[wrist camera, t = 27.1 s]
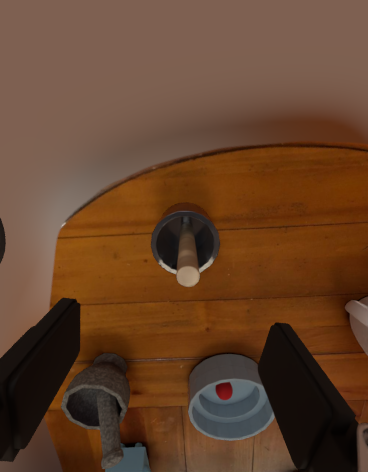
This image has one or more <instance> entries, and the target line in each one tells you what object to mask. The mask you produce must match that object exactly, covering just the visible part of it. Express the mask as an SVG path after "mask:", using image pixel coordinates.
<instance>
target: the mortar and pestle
mask: <svg viewBox="0 0 368 472" xmlns="http://www.w3.org/2000/svg"><path fill="white" fill-rule="evenodd" d="M126 370H127V365H126V363H125V360H124V359H123V358H121V357H120V356H118V355H116V354H110V353H103V354H102V355H100V356H98V357H96V358H95V360H94V363H93V365H91V366H89V367H88V368H86V369H84V370H83V371H81V372H80V373H79V374H77V375H76V376H75V378H74V379H73V380H72V382H71V383H70V384H69V386H68V388H67V390H66V392H65V394H64V398H63V401H62V405H61V408H62V409H63V411H64V413H65V414H66V416H67V417H68V419H69V420H70V421H72V422H74V423H76V424H78V425H80V426H82V427H84V428H86V429H100V432H101V441H102V451H103V459H102V462H101V464H102V468H103V469H109V468H111V467H113V466H115V465H117V464H118V463H119V462H120V461H121V460H122V458H123V456H124V454H123V450H122V449H121V443H120V427H119V423H121V422H122V420H123V418H124V415H125V413H126V411H127V407H128V403H129V398H130V386H129V382H128V380H127V378H126V376H125V373H126Z"/></svg>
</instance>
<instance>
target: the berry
mask: <svg viewBox="0 0 368 472" xmlns="http://www.w3.org/2000/svg"><path fill="white" fill-rule="evenodd" d="M215 390H216V394H217V396H218V397H219V398H220V399H222V400H228V399H230V398H231V396H232V393H233V388H232V385H231V383H230V382H225V383H220V384H217V385H216V387H215Z"/></svg>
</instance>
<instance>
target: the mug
mask: <svg viewBox="0 0 368 472" xmlns="http://www.w3.org/2000/svg"><path fill="white" fill-rule="evenodd" d="M345 309H346V311H347V312H349V313H350V324H351V328H352V331H353V333H354V335H355V337H356V339H357V341H358V342H359V344H360V346H361V347H362V349H363V350H364V351H365V353H366V354H367V356H368V297H365V298H363V299H361V300H360V301H355V300H351V301H349V302H348V303H347V304H346V306H345Z"/></svg>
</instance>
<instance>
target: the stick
mask: <svg viewBox="0 0 368 472" xmlns="http://www.w3.org/2000/svg"><path fill="white" fill-rule="evenodd" d="M176 279H177V281H178V283H179V284H181V285H182V286H185V287H191V286H194V285H195V284H197V283H198V281H199V279H200V272H199V265H198V259H197V252H196V245H195V238H194V231H193V226H192V225H191V224H190V223H184V224H182V226H181V228H180V239H179V250H178V261H177V272H176Z"/></svg>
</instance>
